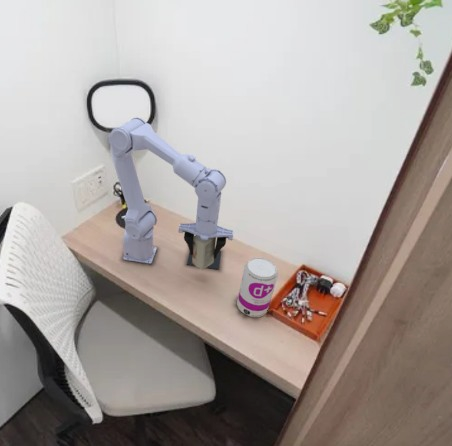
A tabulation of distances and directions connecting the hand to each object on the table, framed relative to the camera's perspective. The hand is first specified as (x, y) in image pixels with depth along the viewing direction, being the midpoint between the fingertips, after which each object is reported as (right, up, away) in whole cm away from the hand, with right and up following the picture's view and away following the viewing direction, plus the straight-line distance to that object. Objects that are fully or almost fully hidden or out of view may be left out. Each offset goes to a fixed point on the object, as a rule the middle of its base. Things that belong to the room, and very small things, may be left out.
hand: (203, 254), depth 96 cm
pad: (+3, -2, +13) cm, 13 cm away
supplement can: (+13, -14, -4) cm, 19 cm away
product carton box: (0, -3, +2) cm, 4 cm away
